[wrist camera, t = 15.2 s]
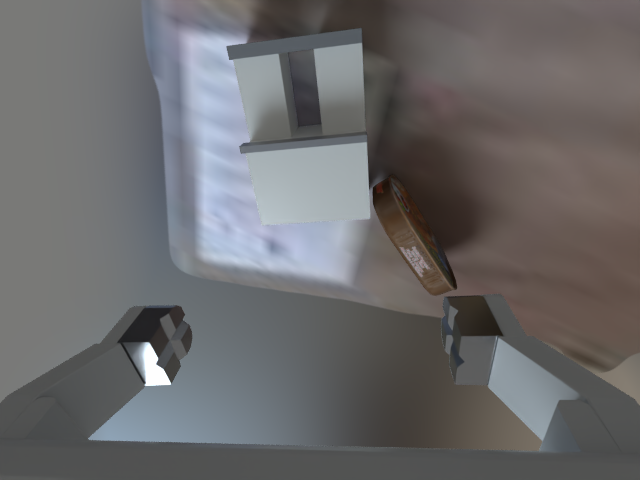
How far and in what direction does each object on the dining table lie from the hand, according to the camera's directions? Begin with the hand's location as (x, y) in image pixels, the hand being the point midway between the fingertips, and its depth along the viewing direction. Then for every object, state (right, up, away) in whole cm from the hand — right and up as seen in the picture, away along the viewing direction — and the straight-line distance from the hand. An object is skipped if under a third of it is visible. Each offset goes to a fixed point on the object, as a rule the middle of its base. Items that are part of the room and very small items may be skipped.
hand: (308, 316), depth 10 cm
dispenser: (0, +15, +25) cm, 29 cm away
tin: (+11, +5, +30) cm, 33 cm away
